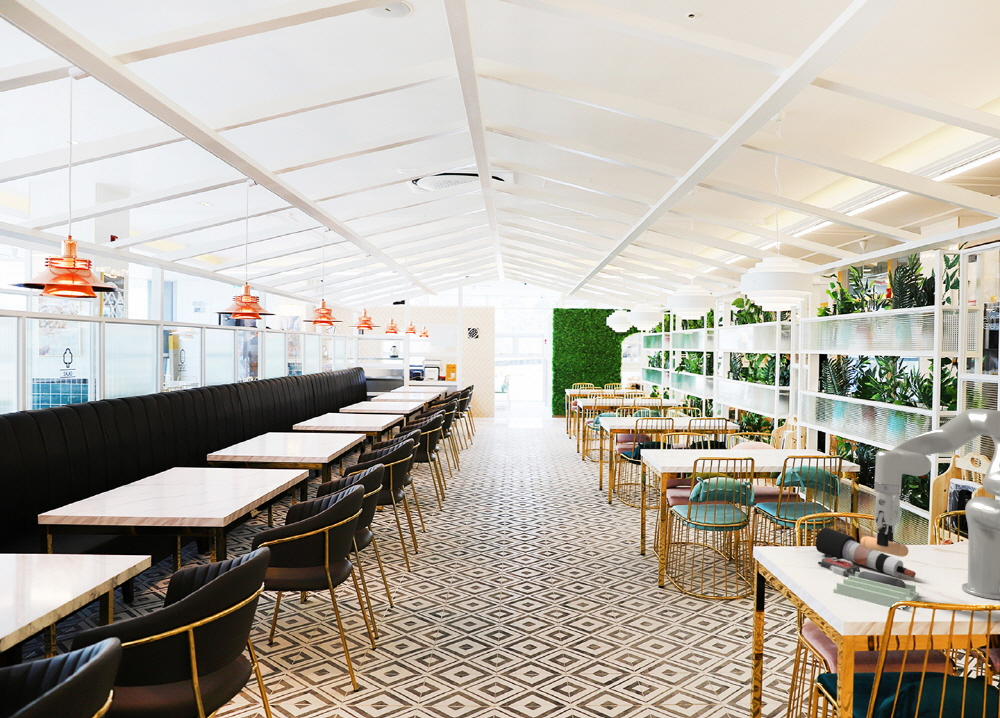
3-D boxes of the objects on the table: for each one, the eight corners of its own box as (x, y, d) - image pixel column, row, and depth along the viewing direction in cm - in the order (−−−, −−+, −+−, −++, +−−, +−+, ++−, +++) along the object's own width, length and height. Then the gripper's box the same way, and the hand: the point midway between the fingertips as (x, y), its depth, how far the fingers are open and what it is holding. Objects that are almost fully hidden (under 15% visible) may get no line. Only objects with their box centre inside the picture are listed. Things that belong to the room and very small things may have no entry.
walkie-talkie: (813, 567, 240) (863, 584, 222) (813, 555, 240) (864, 571, 222) (829, 564, 244) (880, 581, 225) (829, 552, 244) (880, 568, 225)
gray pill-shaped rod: (907, 591, 211) (907, 579, 211) (903, 594, 209) (903, 582, 209) (860, 580, 221) (860, 568, 222) (856, 583, 219) (856, 571, 219)
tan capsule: (909, 556, 208) (910, 544, 208) (905, 559, 206) (906, 546, 206) (862, 545, 219) (863, 534, 219) (858, 547, 216) (859, 535, 216)
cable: (908, 594, 224) (903, 571, 221) (818, 557, 254) (813, 536, 251) (923, 577, 228) (919, 555, 225) (833, 543, 258) (829, 522, 255)
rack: (919, 596, 210) (919, 586, 210) (902, 610, 198) (902, 599, 198) (852, 580, 225) (852, 570, 225) (833, 592, 212) (833, 582, 212)
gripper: (891, 493, 204) (889, 551, 204) (908, 488, 215) (905, 543, 215) (865, 489, 209) (863, 545, 209) (883, 484, 220) (880, 538, 220)
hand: (884, 544), depth 212 cm, fingers closed on tan capsule, 3 cm apart
